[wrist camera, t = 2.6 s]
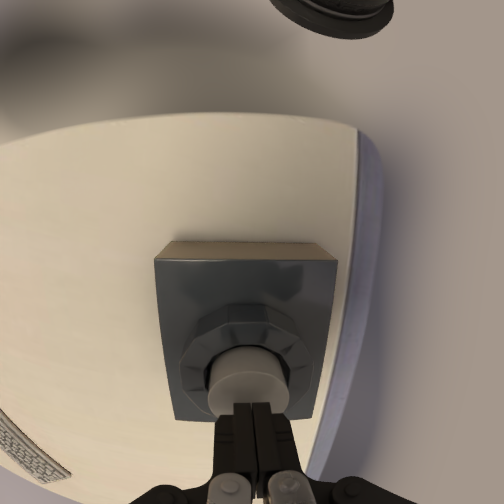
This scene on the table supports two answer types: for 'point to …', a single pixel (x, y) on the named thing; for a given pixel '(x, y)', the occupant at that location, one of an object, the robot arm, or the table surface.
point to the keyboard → (28, 454)
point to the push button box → (243, 315)
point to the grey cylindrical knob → (247, 380)
